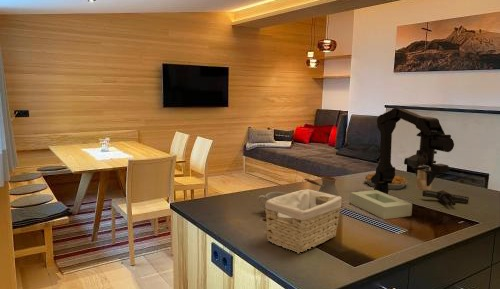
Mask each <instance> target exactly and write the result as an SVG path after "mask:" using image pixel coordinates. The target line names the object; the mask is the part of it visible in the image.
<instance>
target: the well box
mask: <svg viewBox="0 0 500 289" xmlns="http://www.w3.org/2000/svg"><path fill="white" fill-rule="evenodd" d="M350 204H351V205H354V206H355V207H358V208H360V209H362V210H363V211H366V212H368V213H371V214H372V215H374V216H376V217H379V218H380V219H381V220H388V219H389V220H390V219H395V218H396V219H397V218H403V217H404V218H405V217H411V216H412V213H413V203H411V202H408V201H406V200H404V199H403V200H402V199H400V198H399V197H395V196H392V195H391V194H389V193H388V194H385V193H383V192H380V191H378V190H374V189H373V190H365V191H354V192H350Z"/></svg>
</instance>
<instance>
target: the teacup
mask: <svg viewBox="0 0 500 289" xmlns="http://www.w3.org/2000/svg"><path fill="white" fill-rule="evenodd" d="M285 194H289V193H287V192H284V191H283V192H282V191H271V192H268V193H266V194H265V195H264V194H263V195H262V194H261V195H259V196H258V197H257V203H258V204H259V205H260V206H261V207H263V208H264V210H265V209H266V208H265V204H264V203H262V202H261V199H263V200H264V202H265V203H266V201H267V200H269V199H272V198H274V197H278V196H282V195H285Z"/></svg>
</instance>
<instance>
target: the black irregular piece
mask: <svg viewBox="0 0 500 289" xmlns="http://www.w3.org/2000/svg"><path fill="white" fill-rule="evenodd" d="M421 195H422V197H424V198H433V199H437V200H438V201H440V203H442V204H444V205H447V206H451V205H452V206H456V203H460V204H468V203H469V199H470V198H469V196H464V195H463V196H462V195H456V194H452V193H450V192H448V191H445V190H443V189H442V190H438V191H434V190H426V191H423V190H422V194H421Z"/></svg>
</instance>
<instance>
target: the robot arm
mask: <svg viewBox="0 0 500 289" xmlns="http://www.w3.org/2000/svg"><path fill="white" fill-rule="evenodd" d="M401 120H403V121H406V122H408V123H410V124H412V125H414V126H415V128H416V129H418V130H419V132H418V133H416V137H420V140H419V149H417V150H416V151H415V152H416V153H415V154H413V155H411V156H408V157H405V158H404V161H403V165H406V166H409V167H410V168H411V169H413V171H414V173H415V175H416V177H417V173H418V170H422V169H426V168H428V169H426V170H425V171H426V173H427V186H430V184H431V183H433V181H434V179H435V178H436V177H437V175H438V174H443V173H444V174H445V173H450V166H449V164H444V163H437V160H435V154H436V155H437V153H438V151H439V152H445V153H450V152H451V151H453V149H454V147H455V143H454V140H453V139H452V135H451V134H446V133H445V132H444V131H445V130H444V129H443V128H442V125H441V123H440V120H439V119H438V118H437V117H431V116H422V115H420V114H417V113H415V112H412V111H411V110H408V109H405V108H404V107H393V108H392V109H390V110H388V111H387V112H384V113H382V114H380V115H378V117H377V119H376V123H377V124H376V125H377V129H378V131H379V133H380V144H379V145H380V149H379V163H378V164H377V167H376V169H375V175H374V176H373V177H372V178H371V183H374V187H373V190H378V191H380V192H383V193H385V194H388V195H389V189H388V184H389V183H390V184H391V183H392V181H393V179H394V176H395V175H396V167H395V166H393V164H392V162H391V161H392V143H393V142H392V139H393V138H392V137H393V132H394V131H395V129H396V126H397V123H399V121H401ZM431 185H432V184H431Z"/></svg>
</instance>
